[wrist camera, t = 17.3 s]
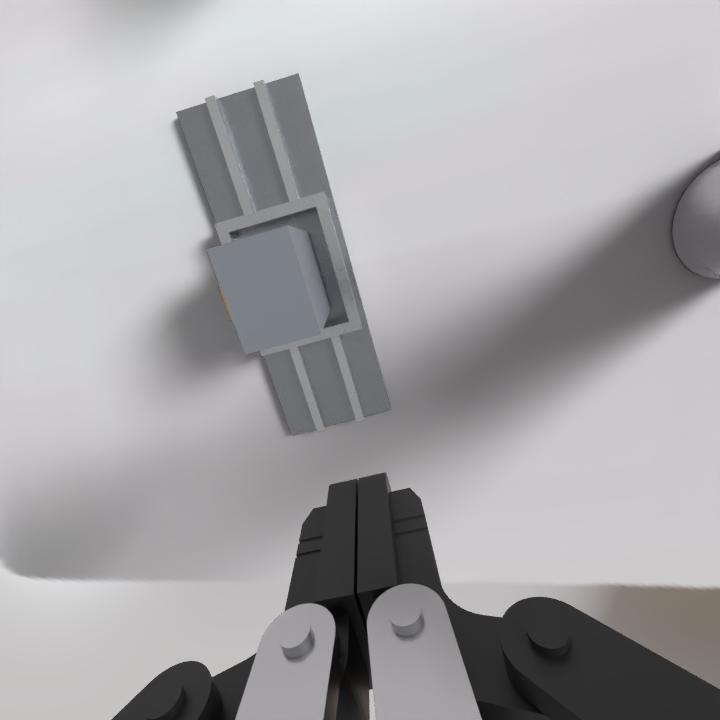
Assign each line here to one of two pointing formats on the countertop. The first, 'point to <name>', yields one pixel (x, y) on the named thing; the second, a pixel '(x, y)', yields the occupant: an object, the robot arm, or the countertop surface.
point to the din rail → (299, 210)
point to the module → (271, 287)
